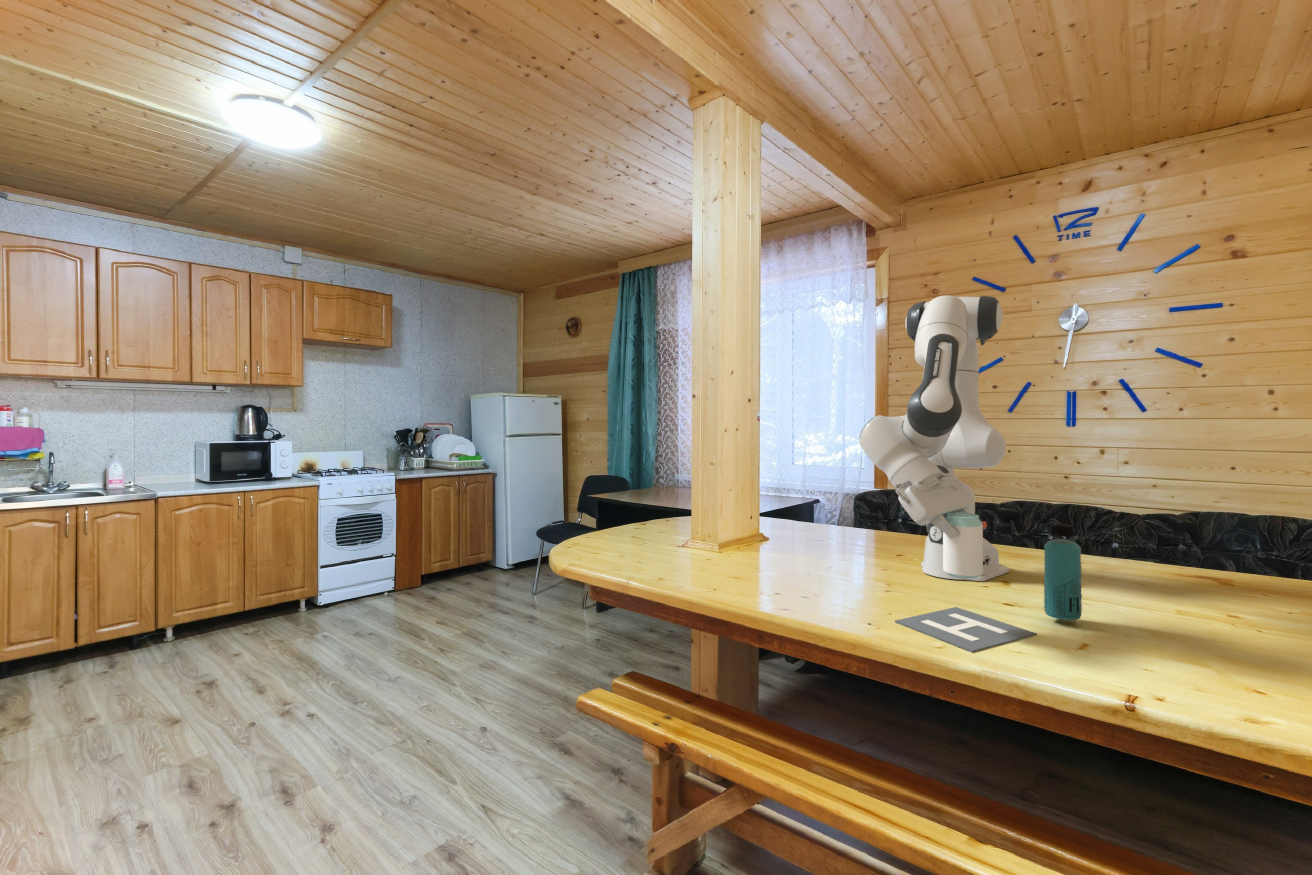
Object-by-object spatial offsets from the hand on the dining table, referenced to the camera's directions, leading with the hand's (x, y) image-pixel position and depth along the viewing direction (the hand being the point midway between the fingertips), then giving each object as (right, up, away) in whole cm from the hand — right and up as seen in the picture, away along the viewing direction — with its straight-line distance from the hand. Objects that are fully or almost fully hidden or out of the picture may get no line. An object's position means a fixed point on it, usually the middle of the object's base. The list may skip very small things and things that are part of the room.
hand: (965, 533), depth 120 cm
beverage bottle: (+21, -19, +3) cm, 29 cm away
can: (0, -9, +1) cm, 9 cm away
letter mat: (0, -19, +1) cm, 19 cm away
